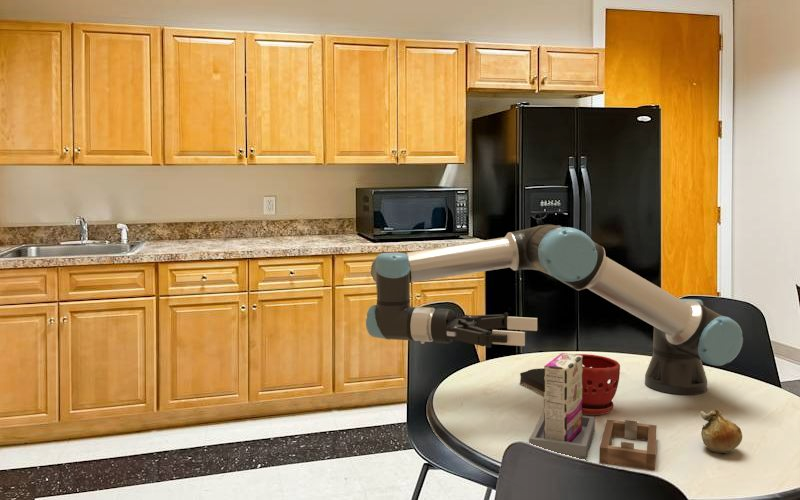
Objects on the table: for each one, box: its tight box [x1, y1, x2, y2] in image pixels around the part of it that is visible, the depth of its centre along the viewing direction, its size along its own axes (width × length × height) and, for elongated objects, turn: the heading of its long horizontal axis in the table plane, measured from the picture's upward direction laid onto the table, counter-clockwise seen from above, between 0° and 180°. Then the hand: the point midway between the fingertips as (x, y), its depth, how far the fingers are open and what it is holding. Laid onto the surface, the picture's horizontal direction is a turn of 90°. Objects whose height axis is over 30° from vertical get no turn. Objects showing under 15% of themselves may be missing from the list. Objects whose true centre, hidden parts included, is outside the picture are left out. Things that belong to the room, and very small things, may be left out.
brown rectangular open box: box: [598, 418, 658, 471], centre depth 135 cm, size 10×16×4 cm, turn 158°
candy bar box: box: [543, 352, 584, 442], centre depth 139 cm, size 11×5×16 cm, turn 148°
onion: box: [699, 409, 743, 454], centre depth 134 cm, size 8×8×8 cm
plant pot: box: [574, 353, 621, 416], centre depth 159 cm, size 13×13×12 cm
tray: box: [528, 411, 596, 461], centre depth 140 cm, size 11×17×3 cm, turn 158°
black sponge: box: [519, 368, 544, 396], centre depth 175 cm, size 16×8×4 cm, turn 24°
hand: (531, 331), depth 140 cm, fingers open, 13 cm apart
